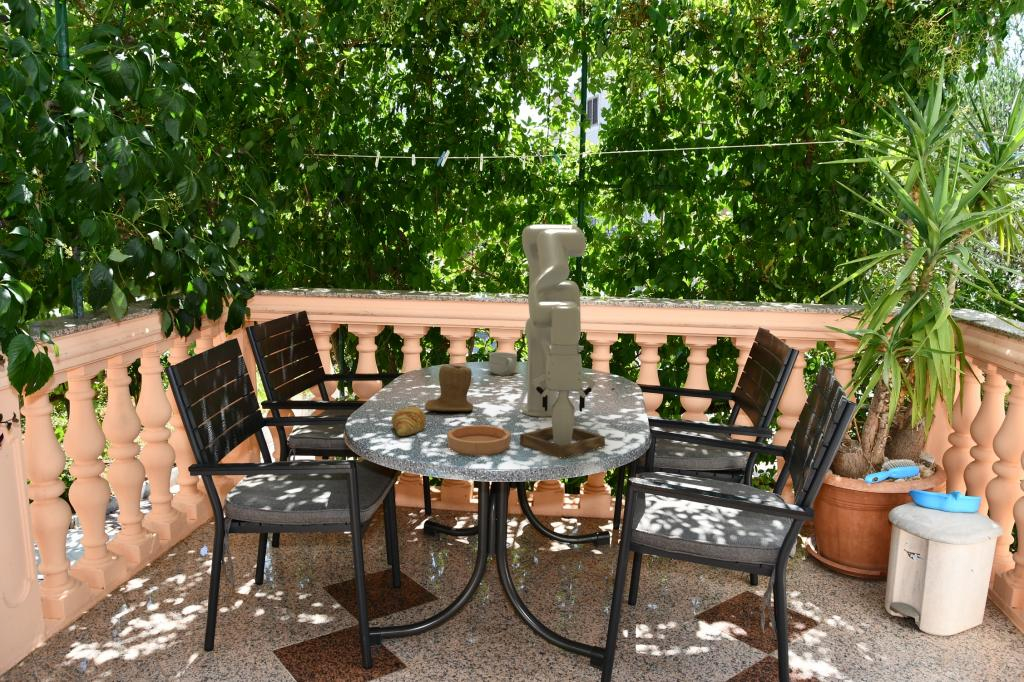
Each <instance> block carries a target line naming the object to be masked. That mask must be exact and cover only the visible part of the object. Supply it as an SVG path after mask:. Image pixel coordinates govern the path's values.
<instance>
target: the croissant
mask: <svg viewBox="0 0 1024 682" xmlns="http://www.w3.org/2000/svg"><path fill="white" fill-rule="evenodd" d="M391 424H392V427H393V429H395V432H396V433H397V436H399V437H407V436H411V435H414V434H417V433H420V432H422V431H423V430H424V429H425V427H426V426H425V425H426V415H425V412H424V411H423V409H421V408H419V407H417V406H415V405H413V406H412V405H411V406H405V407H402V408H400V409H398V410H397V411H396V412H395V413H394V414H393V415H392V417H391ZM419 431H420V432H419Z"/></svg>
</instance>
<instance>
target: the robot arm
mask: <svg viewBox="0 0 1024 682" xmlns="http://www.w3.org/2000/svg"><path fill="white" fill-rule="evenodd" d="M521 243H522V247H523V249H522V250H523V253H524V254H525V258H526V261H527V265H528V276H529V277H528V278H529V281H528V282H529V284H528V285H529V289H528V290H529V291H528V296H527V298H528V300H527V301H528V302H527V303H528V311H529V312H528V314H529V318H528V319H527V320H526V321H525V336H526V344H527V345H526V346H527V389H526V390H527V397H526V398H527V399H526V400H527V401H526V405H524V406H523V407H522V411H521V412H522V413H523V414H525V415H527V416H531V417H538V418H539V417H540V418H541V417H546V418H547V417H552V405H553V404H554V403H555V401H556V400H557V399H558V391H569V392H577V393H578V394H579V402H578V403H579V405H578V406H579V408H578V410H579V412H580V413H582V412H583V409H585V408H586V407H585V404H586V397H587V396H588V395H589V394H590V393H591V392H592V390H593V389H594V387H595V386H596V381H595V380H594V379H592V378H590V377H587V376H586V375H584V374H583V361H582V355H581V354H580V352H581V351H584V348H585V347H584V345H580V344H579V341H580V338H581V332H582V331H581V328H582V325H581V323H582V321H581V317H582V315H581V293H580V288H579V285H578V284H577V283H576V282H575V281H573V280H567V279H568V277H569V275H570V265H569V259H568V258H579V257H582V256H583V255H584V254H585V252H586V245H587V243H586V238H585V234H584V232H583V231H582V229H581V228H580V227H578V226H577V225H576V224H566V223H565V224H562V223H561V224H560V223H559V224H556V223H555V224H554V223H553V224H552V223H538V224H537V223H535V224H529V225H527V226H526V227H524V228H523V230H522V234H521ZM583 382H585V383H587V384H588V386H587V387H586V388H585V389H583Z"/></svg>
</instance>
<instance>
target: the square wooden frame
mask: <svg viewBox="0 0 1024 682" xmlns="http://www.w3.org/2000/svg"><path fill="white" fill-rule="evenodd" d="M550 438H551V439H553V429H552V426H549V427H544V428H542V429H541V428H540V429H536V430H533V431H528V432H524V433H521V434H520V435H519V445H520V446H523V447H526V448H529V449H532V450H535V451H538V452H542V453H544V454H547V455H550V456H553V457H556V456H557V458H559V457H561V458H560V459H562V458H564V457H567V458H569V457H568V456H571V457H573V456H572V455H574V456H576V455H575V454H578V455H580V454H579V453H581V454H583V453H582V452H585V453H587V452H586V451H588V452H590V451H589V450H592V451H594V450H593V449H595V450H598V449H597V448H599V447H602V448H604V447H603V446H605V447H606V436H604V435H601V434H597V433H595V432H591V431H587V430H584V429H581V428H577V427H573V433H572V438H573V439H572V440H574V439H576V440H575V442H571V444H568V445H564V446H562V445H559V444H556V443H554V442H552V441H549V440H551V439H550ZM547 439H548V440H547ZM578 440H580V441H578ZM599 449H600V448H599ZM564 459H565V458H564Z"/></svg>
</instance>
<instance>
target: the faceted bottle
mask: <svg viewBox="0 0 1024 682" xmlns="http://www.w3.org/2000/svg"><path fill="white" fill-rule="evenodd" d="M569 392H570V391H557V397H558V399H557V400H556V401H555V403H554V404H553V405H552V416H551V427H552V429H553V438H552V440H553V443H556V444H559V445H562V446H564V445H568V444H571V443H572V440H573V439H572V433H573V427H574V425H575V406H574V404H573V402H572V401H571V400H570V398H569ZM574 428H575V427H574Z"/></svg>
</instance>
